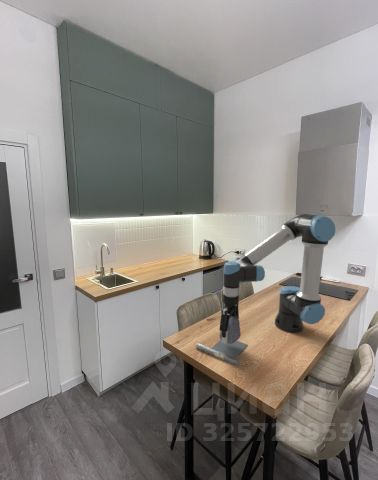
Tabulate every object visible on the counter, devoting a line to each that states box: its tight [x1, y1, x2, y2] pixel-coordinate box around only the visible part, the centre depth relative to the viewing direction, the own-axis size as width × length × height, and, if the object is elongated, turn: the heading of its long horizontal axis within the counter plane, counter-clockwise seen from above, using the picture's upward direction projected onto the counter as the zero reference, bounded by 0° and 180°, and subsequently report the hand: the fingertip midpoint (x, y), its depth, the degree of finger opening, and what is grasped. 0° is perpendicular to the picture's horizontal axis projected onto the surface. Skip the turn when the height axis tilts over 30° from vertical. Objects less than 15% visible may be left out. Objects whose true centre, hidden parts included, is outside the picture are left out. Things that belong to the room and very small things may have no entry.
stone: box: [219, 316, 241, 344], centre depth 120 cm, size 12×10×10 cm
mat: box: [210, 339, 248, 359], centre depth 122 cm, size 13×15×1 cm
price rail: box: [195, 342, 240, 367], centre depth 116 cm, size 22×2×2 cm, turn 54°
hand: (228, 338), depth 121 cm, fingers closed on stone, 9 cm apart
